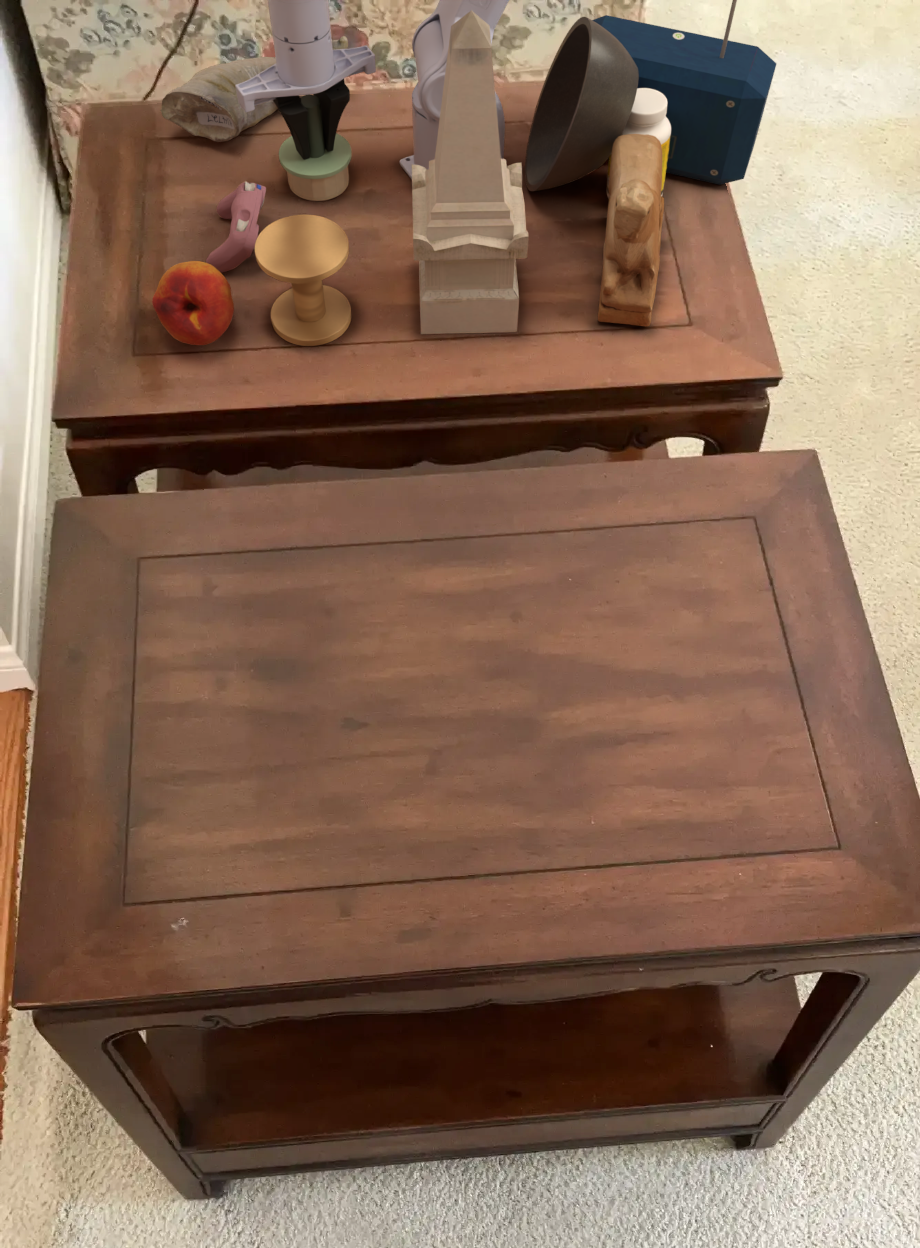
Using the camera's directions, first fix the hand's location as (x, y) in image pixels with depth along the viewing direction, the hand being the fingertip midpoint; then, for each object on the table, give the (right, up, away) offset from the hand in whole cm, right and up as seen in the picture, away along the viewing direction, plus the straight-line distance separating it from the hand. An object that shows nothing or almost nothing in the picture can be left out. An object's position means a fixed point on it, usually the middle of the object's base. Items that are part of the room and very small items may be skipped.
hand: (315, 149), depth 123 cm
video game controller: (-7, -11, -2) cm, 13 cm away
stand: (+1, -20, -8) cm, 21 cm away
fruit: (-10, -22, -9) cm, 26 cm away
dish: (0, -2, +3) cm, 4 cm away
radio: (+38, +2, +6) cm, 38 cm away
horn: (-4, +6, +6) cm, 10 cm away
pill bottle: (+35, -4, +3) cm, 35 cm away
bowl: (+31, +1, -5) cm, 32 cm away
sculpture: (+33, -14, -4) cm, 36 cm away
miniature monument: (+16, -18, -6) cm, 25 cm away
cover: (0, 0, +1) cm, 1 cm away
